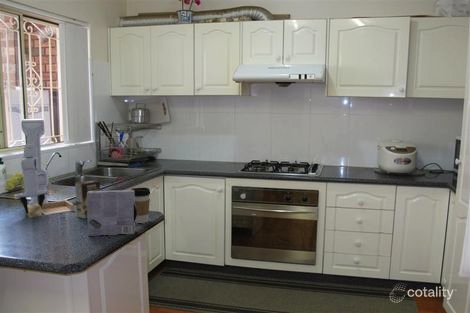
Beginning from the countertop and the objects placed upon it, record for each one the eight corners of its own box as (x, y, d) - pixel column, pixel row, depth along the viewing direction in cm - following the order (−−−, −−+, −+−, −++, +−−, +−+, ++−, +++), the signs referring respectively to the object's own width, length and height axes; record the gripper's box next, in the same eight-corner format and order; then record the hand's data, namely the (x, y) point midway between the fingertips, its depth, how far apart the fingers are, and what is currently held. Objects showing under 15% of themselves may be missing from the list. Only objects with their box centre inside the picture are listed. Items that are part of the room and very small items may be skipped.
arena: (39, 210, 201) (38, 204, 200) (66, 205, 209) (66, 200, 208) (45, 215, 191) (45, 209, 191) (74, 210, 199) (73, 204, 199)
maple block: (29, 217, 188) (29, 208, 187) (25, 213, 195) (25, 204, 194) (41, 215, 191) (41, 206, 190) (37, 211, 198) (36, 202, 197)
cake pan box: (138, 230, 169) (136, 188, 167) (137, 234, 164) (135, 191, 162) (89, 233, 166) (87, 190, 164) (87, 237, 161) (84, 193, 159)
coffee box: (83, 219, 185) (81, 184, 183) (76, 216, 189) (74, 182, 187) (101, 214, 192) (100, 181, 190) (94, 212, 196) (92, 179, 194)
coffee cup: (128, 221, 181) (126, 188, 179) (144, 217, 187) (143, 185, 185) (138, 225, 175) (137, 191, 173) (155, 221, 181) (154, 188, 179)
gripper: (15, 186, 183) (17, 216, 185) (50, 182, 192) (52, 210, 194) (12, 184, 189) (14, 212, 191) (46, 180, 197) (48, 207, 199)
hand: (33, 211), depth 193 cm, fingers closed on maple block, 5 cm apart
